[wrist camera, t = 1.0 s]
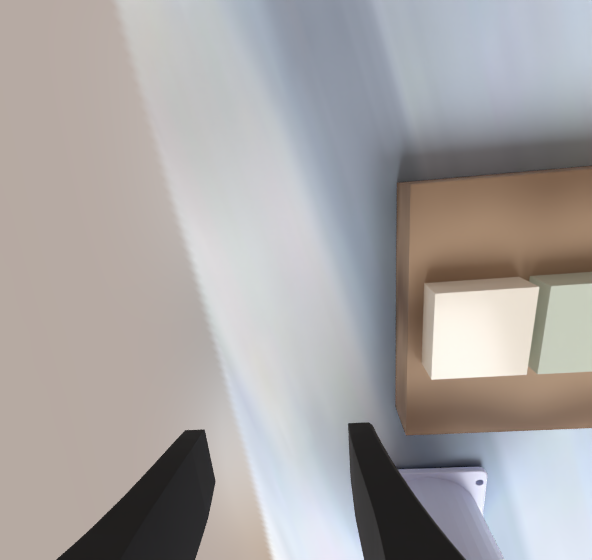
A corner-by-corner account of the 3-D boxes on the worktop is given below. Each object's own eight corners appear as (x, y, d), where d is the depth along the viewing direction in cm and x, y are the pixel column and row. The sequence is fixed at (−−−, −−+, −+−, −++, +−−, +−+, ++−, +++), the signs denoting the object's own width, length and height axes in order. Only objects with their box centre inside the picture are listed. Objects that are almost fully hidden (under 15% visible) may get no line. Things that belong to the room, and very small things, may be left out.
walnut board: (572, 398, 21) (606, 427, 19) (395, 406, 22) (406, 435, 19) (619, 163, 17) (671, 161, 14) (396, 182, 17) (410, 184, 15)
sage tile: (609, 352, 17) (636, 369, 16) (518, 357, 18) (537, 374, 16) (628, 269, 16) (660, 279, 14) (530, 276, 16) (551, 286, 15)
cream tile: (508, 358, 18) (526, 375, 16) (421, 363, 18) (431, 379, 16) (519, 276, 16) (539, 287, 15) (424, 283, 16) (435, 293, 15)
